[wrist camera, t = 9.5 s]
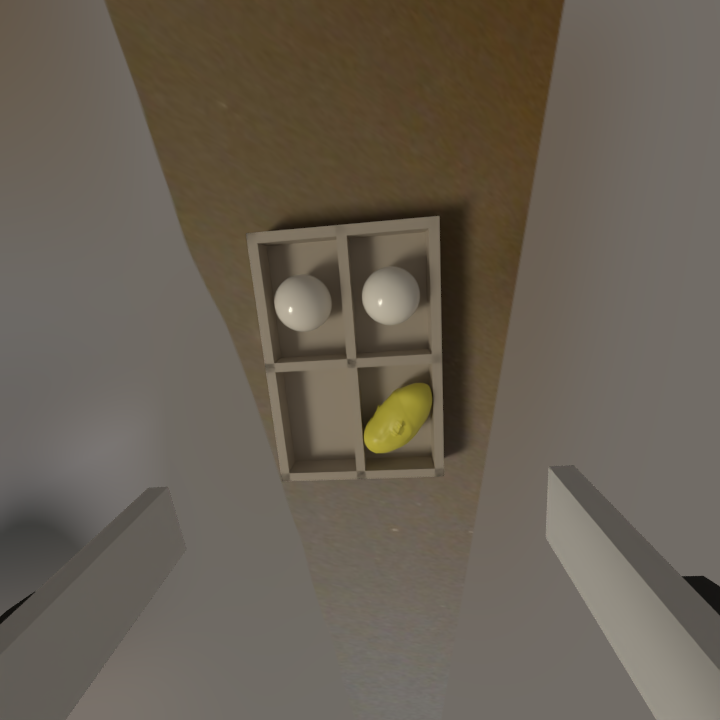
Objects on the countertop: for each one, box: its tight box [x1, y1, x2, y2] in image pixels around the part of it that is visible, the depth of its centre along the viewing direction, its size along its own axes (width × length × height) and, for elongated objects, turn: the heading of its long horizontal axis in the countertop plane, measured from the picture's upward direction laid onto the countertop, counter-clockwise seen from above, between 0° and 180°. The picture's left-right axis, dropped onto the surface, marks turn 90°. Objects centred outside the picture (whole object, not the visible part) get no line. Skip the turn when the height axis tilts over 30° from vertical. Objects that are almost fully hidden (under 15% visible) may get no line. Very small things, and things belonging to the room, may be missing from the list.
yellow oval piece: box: [364, 383, 432, 453], centre depth 29 cm, size 4×8×4 cm, turn 137°
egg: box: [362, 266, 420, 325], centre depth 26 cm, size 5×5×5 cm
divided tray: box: [246, 216, 444, 481], centre depth 29 cm, size 22×15×3 cm
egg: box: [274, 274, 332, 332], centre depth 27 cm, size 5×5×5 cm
